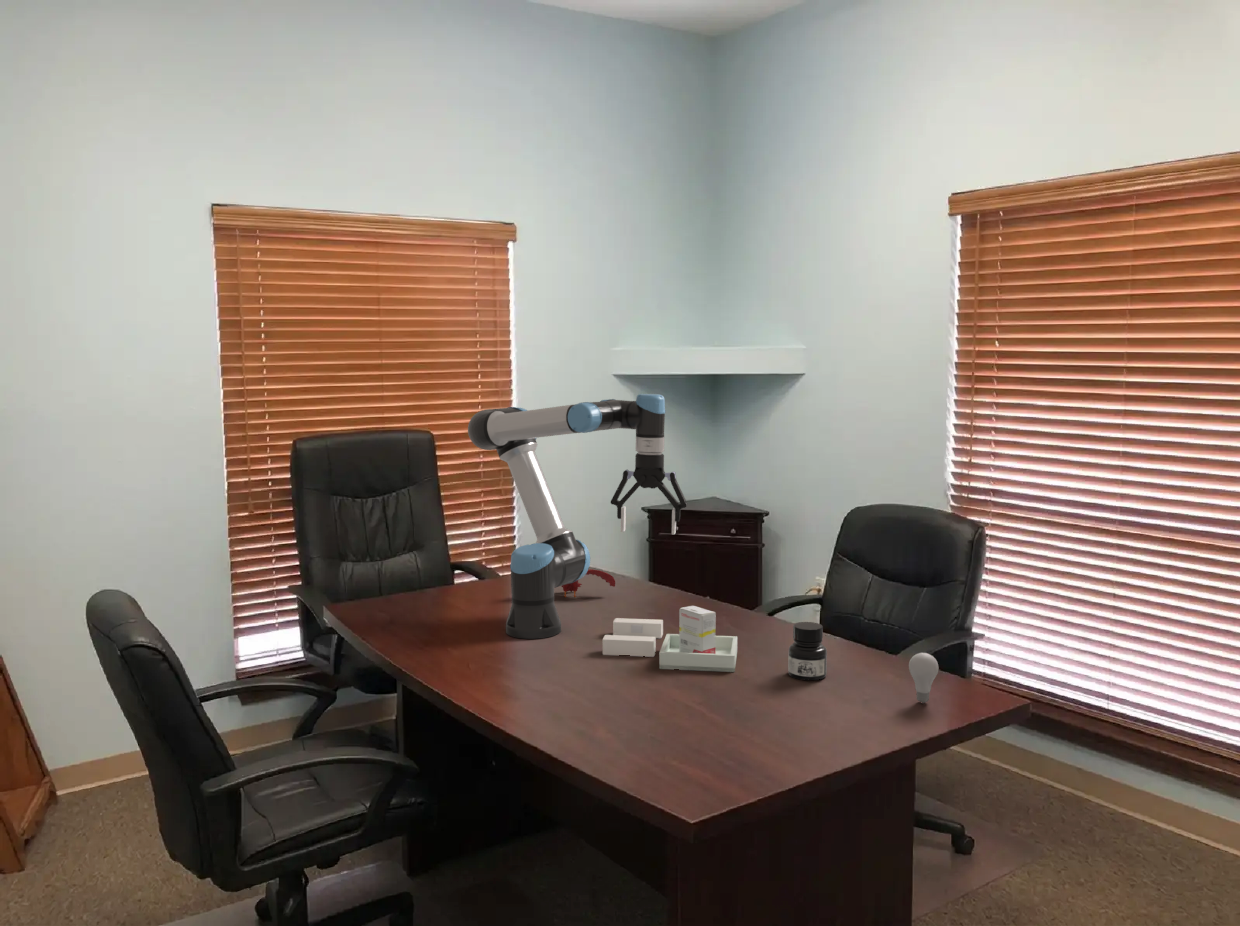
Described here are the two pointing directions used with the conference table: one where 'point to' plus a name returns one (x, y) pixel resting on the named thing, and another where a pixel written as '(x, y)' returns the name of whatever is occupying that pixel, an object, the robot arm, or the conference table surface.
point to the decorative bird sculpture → (603, 575)
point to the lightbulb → (923, 674)
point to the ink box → (697, 630)
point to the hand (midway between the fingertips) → (648, 532)
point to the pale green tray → (699, 655)
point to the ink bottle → (807, 652)
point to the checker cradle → (633, 637)
